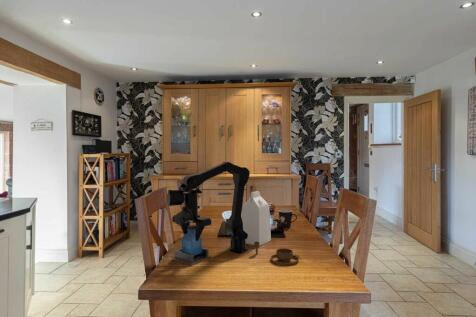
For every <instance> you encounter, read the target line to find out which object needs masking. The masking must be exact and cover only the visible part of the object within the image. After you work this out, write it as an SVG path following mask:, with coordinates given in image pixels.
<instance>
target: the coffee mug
mask: <svg viewBox="0 0 476 317" xmlns="http://www.w3.org/2000/svg"><path fill="white" fill-rule="evenodd" d="M293 216H295V219H294V220H292V218H293ZM278 219H279V227H280V226H282V227H283V228H282V227H281V228H282V229H290V228H291V227H292V223H294V222H296V221H297V219H298V216H297V214H295V213H293V210H291V209H279V210H278Z"/></svg>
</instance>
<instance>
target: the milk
mask: <svg viewBox="0 0 476 317" xmlns="http://www.w3.org/2000/svg"><path fill="white" fill-rule="evenodd" d="M260 192H261V191H258V190H257V191H251V193H250V198H248V200H247V201H246V202H245V203H244V204H243V205H242V214H241V218H242V222H243V230H244V231H245V232H246V233H247V234H248V237H247V239H246V244H247V245H251V246H252V245H253V246H254V242H259V247H260V246H263V245H265V244H266V243H268V242H270V241H271V240H272V238H271V237H272V236H271V234H272V233H271V232H272V231H271V214H270V213H271V212H270V205H269V203H268V202H267V201H266V200H265V199H264V198H263V197H262V196H261V193H260Z"/></svg>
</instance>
